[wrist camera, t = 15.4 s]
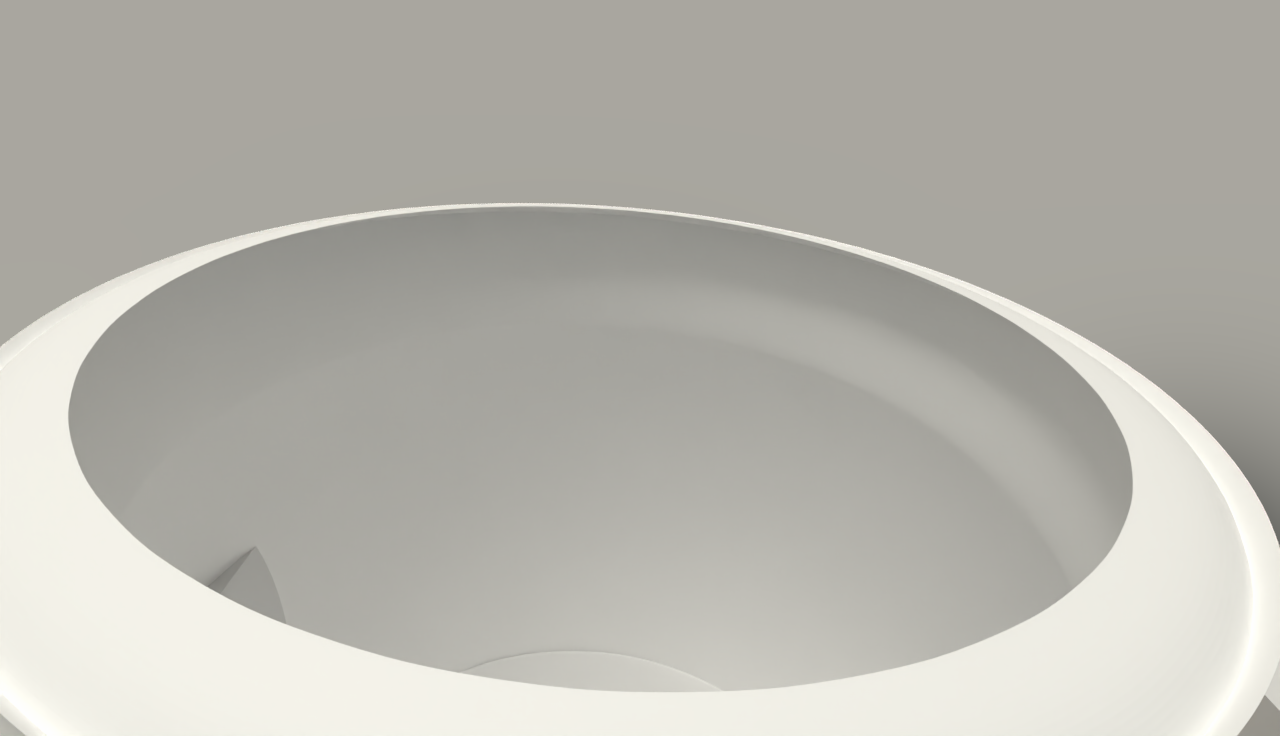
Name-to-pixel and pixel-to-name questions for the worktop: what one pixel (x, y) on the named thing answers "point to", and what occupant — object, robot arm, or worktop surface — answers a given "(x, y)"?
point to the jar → (607, 496)
